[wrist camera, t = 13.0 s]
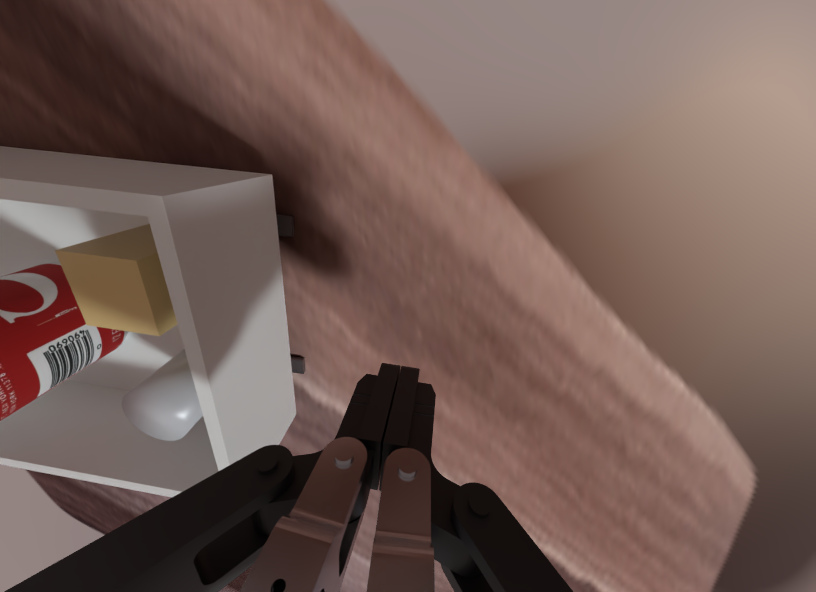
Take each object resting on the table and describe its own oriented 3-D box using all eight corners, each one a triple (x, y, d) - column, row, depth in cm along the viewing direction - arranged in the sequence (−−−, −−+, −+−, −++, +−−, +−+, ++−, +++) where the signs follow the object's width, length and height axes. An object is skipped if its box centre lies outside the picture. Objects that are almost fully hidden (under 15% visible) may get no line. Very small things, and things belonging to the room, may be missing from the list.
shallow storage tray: (302, 403, 21) (241, 510, 15) (50, 362, 22) (-99, 445, 16) (282, 172, 15) (162, 196, 9) (-66, 136, 16) (-381, 134, 10)
